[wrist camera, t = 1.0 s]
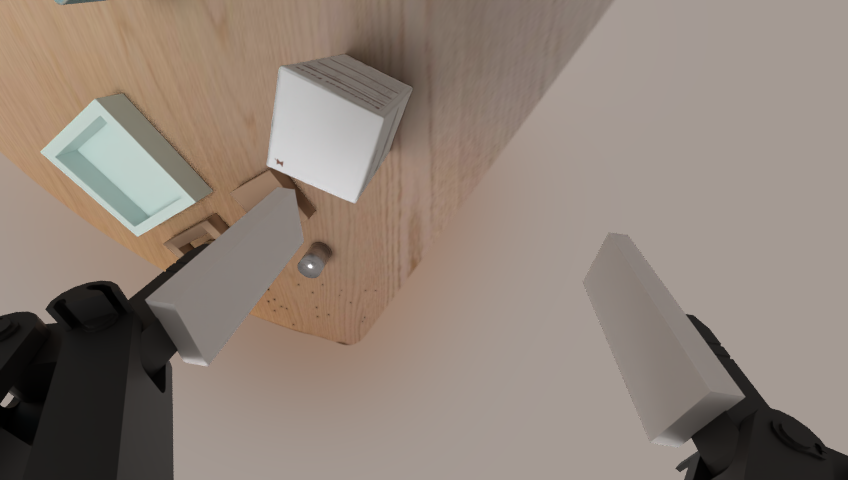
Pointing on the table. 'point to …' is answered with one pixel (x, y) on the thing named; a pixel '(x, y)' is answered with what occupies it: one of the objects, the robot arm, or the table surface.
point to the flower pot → (73, 1)
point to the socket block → (196, 234)
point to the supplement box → (334, 123)
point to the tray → (125, 164)
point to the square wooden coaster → (264, 185)
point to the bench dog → (314, 260)
